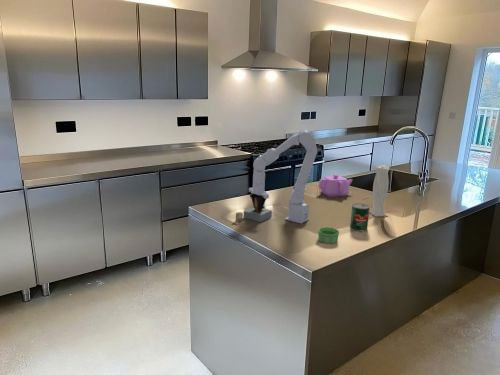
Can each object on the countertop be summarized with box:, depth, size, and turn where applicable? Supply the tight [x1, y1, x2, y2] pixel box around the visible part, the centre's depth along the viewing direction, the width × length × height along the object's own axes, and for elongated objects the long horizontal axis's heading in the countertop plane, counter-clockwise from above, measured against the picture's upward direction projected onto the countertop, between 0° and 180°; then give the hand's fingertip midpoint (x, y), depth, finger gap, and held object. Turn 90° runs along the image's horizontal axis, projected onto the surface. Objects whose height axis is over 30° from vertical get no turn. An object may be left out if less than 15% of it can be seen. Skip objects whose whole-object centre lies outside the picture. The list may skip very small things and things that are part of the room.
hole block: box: [243, 206, 273, 223], centre depth 186 cm, size 10×10×4 cm
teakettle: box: [318, 174, 353, 198], centre depth 231 cm, size 17×17×12 cm
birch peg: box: [235, 211, 244, 223], centre depth 180 cm, size 3×3×4 cm
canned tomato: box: [349, 202, 371, 232], centre depth 174 cm, size 8×8×11 cm
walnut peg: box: [255, 197, 261, 213], centre depth 185 cm, size 3×3×8 cm
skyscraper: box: [369, 163, 391, 218], centre depth 191 cm, size 8×8×28 cm
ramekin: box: [317, 226, 340, 245], centre depth 160 cm, size 9×9×4 cm
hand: (257, 208), depth 185 cm, fingers closed on walnut peg, 3 cm apart
